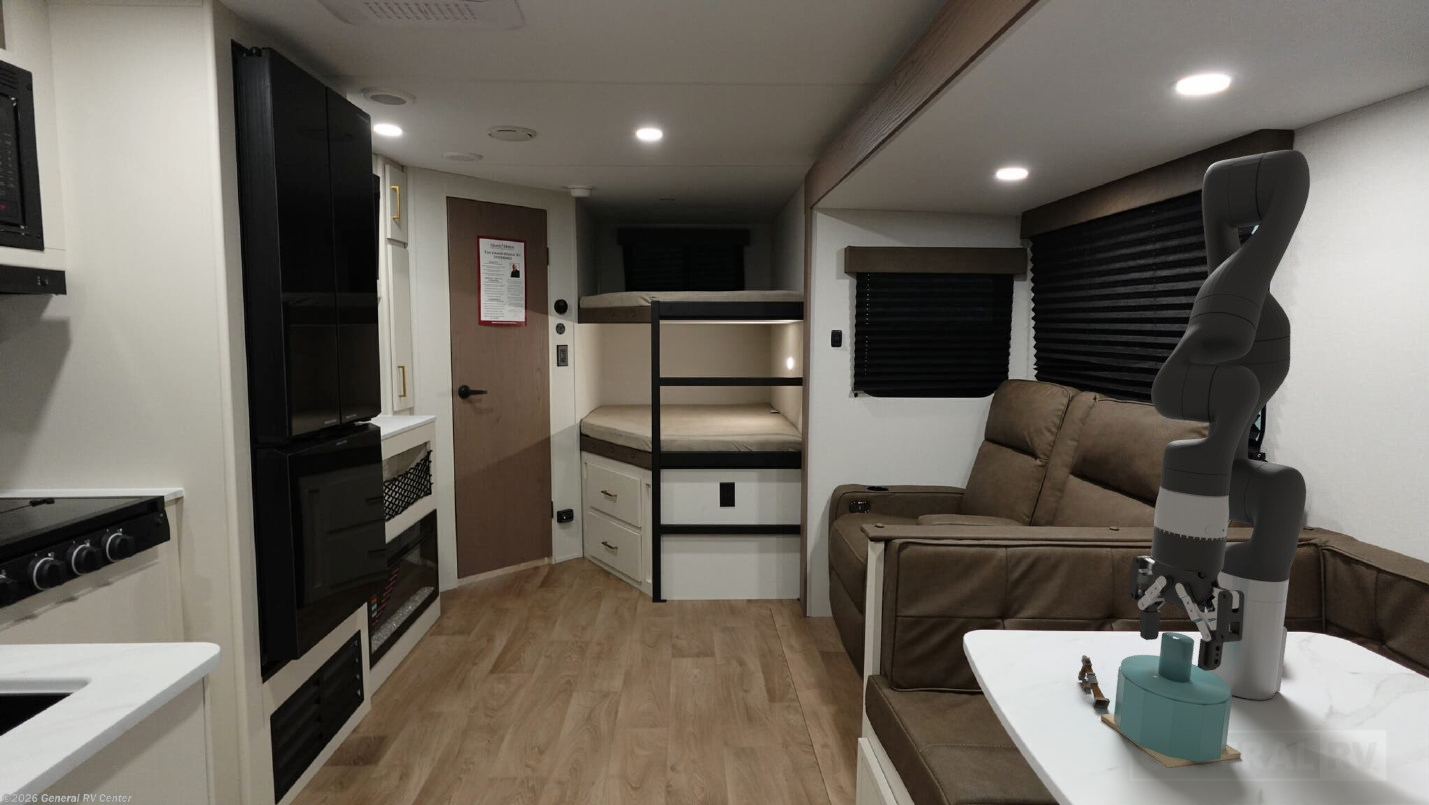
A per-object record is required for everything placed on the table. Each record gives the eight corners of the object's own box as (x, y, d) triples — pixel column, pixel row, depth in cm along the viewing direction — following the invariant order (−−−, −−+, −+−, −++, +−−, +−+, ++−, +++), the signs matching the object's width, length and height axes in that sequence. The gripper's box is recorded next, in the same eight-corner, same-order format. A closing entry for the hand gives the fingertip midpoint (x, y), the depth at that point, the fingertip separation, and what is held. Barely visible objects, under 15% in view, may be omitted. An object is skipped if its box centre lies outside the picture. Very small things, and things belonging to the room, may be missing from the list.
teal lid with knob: (1167, 705, 98) (1176, 616, 97) (1248, 755, 87) (1260, 655, 86) (1094, 713, 95) (1103, 621, 94) (1168, 766, 84) (1179, 663, 83)
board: (1167, 711, 98) (1167, 707, 98) (1240, 757, 87) (1240, 753, 87) (1100, 719, 95) (1101, 714, 95) (1168, 767, 85) (1168, 762, 85)
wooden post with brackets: (1084, 673, 106) (1092, 652, 104) (1102, 721, 99) (1110, 699, 97) (1071, 672, 106) (1078, 651, 104) (1088, 720, 100) (1096, 698, 97)
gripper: (1270, 542, 82) (1254, 678, 84) (1166, 510, 96) (1154, 627, 98) (1217, 545, 81) (1202, 683, 82) (1119, 512, 94) (1107, 631, 96)
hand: (1176, 653), depth 90 cm, fingers open, 8 cm apart
